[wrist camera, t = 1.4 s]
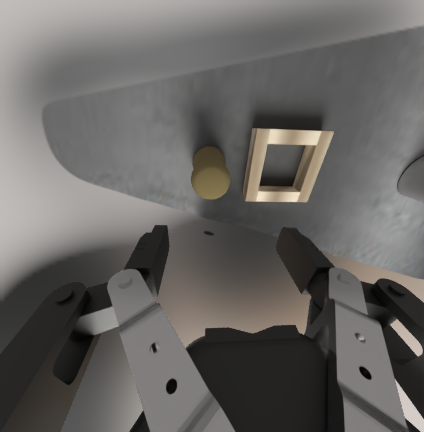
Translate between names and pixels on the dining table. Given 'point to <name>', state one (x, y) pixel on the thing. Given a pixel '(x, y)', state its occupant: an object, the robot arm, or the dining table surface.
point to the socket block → (306, 172)
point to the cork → (210, 173)
